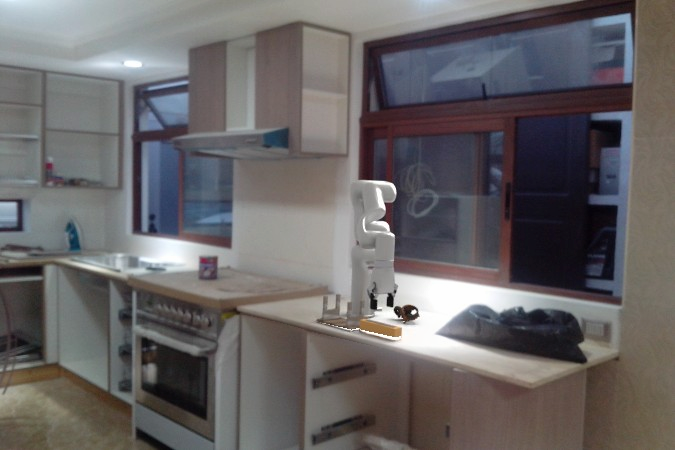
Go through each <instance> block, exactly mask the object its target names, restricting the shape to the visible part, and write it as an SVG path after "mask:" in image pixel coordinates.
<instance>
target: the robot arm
mask: <svg viewBox="0 0 675 450" xmlns="http://www.w3.org/2000/svg"><path fill="white" fill-rule="evenodd" d="M396 198H397V189H396V186H395V185H394V183H392V182H389V181H386V180H370V179H369V180H367V179H359V180H354V181H351V183H350V184H349V199H350V202H351V206H352V209H353V235H354V239H355V240H356V241H358V244H356V245H354V246H353V247H352V248H351V251H350V258H351V259H350V260H351V285H350V286H351V287H350V302H352V316H355V315H359V313H360V300H365V307H364V319H370V318H369V317H371V318H374V317H375V316H376V313H375V312H383V307H382V306H378V298H379V295H386V294H387V296H386V307H387V308H394V307H395V306H394V305H395V301H394V300H395V297H396V294H397V292H398V288H399V285H398V284H397V283H395V281H396V280H395V278H396V277H395V276H396V275H395V268H394V263H395V262H394V261H395V244H396V240H395V239H396V237H395V236H396V235H395V234H394V233H392V232H391V230H390V225H389V223H387V222H386V221H383V220H381V219H382V218H383V217H385V215H386V205H385V203H393V202H394V201H395V200H396ZM369 267H373V268H372V270H371V271H370V269H369ZM345 314H346V315H347V311H346V313H345Z"/></svg>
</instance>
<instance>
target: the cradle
mask: <svg viewBox="0 0 675 450" xmlns="http://www.w3.org/2000/svg"><path fill="white" fill-rule="evenodd" d="M328 297H329V296H328V295H324V296H323V298H322V316H321V318H316V321H318V322H317V323H319V322H321V323H320V324H322V323H326V324H330V325H334V326H338V327H343V328H347V329H351V330H352V329H356V328H360V320H362V319H365V318H364V307H365V300H360V313H359V315H355V316H352V302H351V301H347V305H346V312H347V314H346V318H345V317H341V316H340V312H341V294H340V293H337V294H335V307H334V308H329V309H328V302H329V301H328V300H329V298H328ZM326 324H325V325H326Z"/></svg>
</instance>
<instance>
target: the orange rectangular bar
mask: <svg viewBox="0 0 675 450" xmlns="http://www.w3.org/2000/svg"><path fill="white" fill-rule="evenodd" d="M360 329H361V330H365V331H369V332H374V333H378V334H383V335H387V336H392V337H399V336H401V337H402V334H403V333H402V329H403V327H401V326H398V325H393V324H388V323H385V322H381V321H377V320H373V319H371V318H364V319H362V320H360Z"/></svg>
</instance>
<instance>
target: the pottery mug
mask: <svg viewBox="0 0 675 450" xmlns="http://www.w3.org/2000/svg"><path fill="white" fill-rule="evenodd" d="M414 310H415V311H416V312H415V313H412V312H413V311H414ZM393 313H394V314H395V316H397V318H398V319H400V318H403V319H401V322H402V321H405V322H406V323H407V322H412V321H416V320H417V319H418V318H420V314H419V309H418V307H417V306H415V305H413V304H405V305H403V306H402V307H401V306H400V305H396V306H394V307H393Z"/></svg>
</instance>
